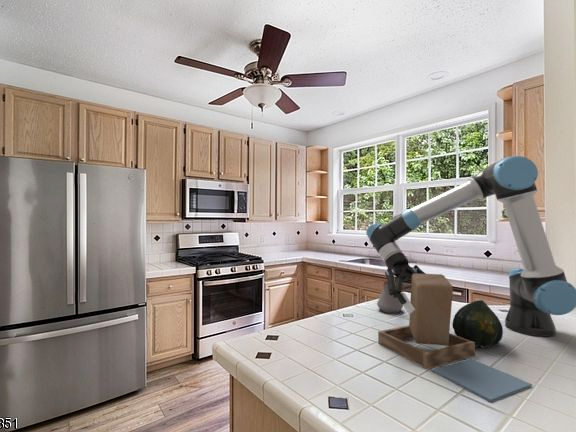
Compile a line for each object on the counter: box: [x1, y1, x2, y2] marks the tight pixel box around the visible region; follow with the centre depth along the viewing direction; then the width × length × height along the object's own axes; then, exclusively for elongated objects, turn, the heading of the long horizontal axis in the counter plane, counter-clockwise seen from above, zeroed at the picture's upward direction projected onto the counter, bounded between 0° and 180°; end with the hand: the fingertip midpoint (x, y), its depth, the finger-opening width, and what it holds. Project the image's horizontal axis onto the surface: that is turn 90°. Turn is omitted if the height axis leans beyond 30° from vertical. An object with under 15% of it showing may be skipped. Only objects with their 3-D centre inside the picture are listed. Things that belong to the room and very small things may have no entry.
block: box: [408, 273, 454, 346], centre depth 98 cm, size 10×10×20 cm
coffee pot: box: [376, 281, 411, 314], centre depth 139 cm, size 21×12×15 cm, turn 24°
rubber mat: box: [432, 357, 533, 403], centre depth 81 cm, size 16×16×1 cm
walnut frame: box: [377, 325, 476, 370], centre depth 101 cm, size 20×20×4 cm
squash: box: [452, 300, 504, 348], centre depth 105 cm, size 14×15×15 cm
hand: (428, 309), depth 99 cm, fingers closed on block, 13 cm apart
